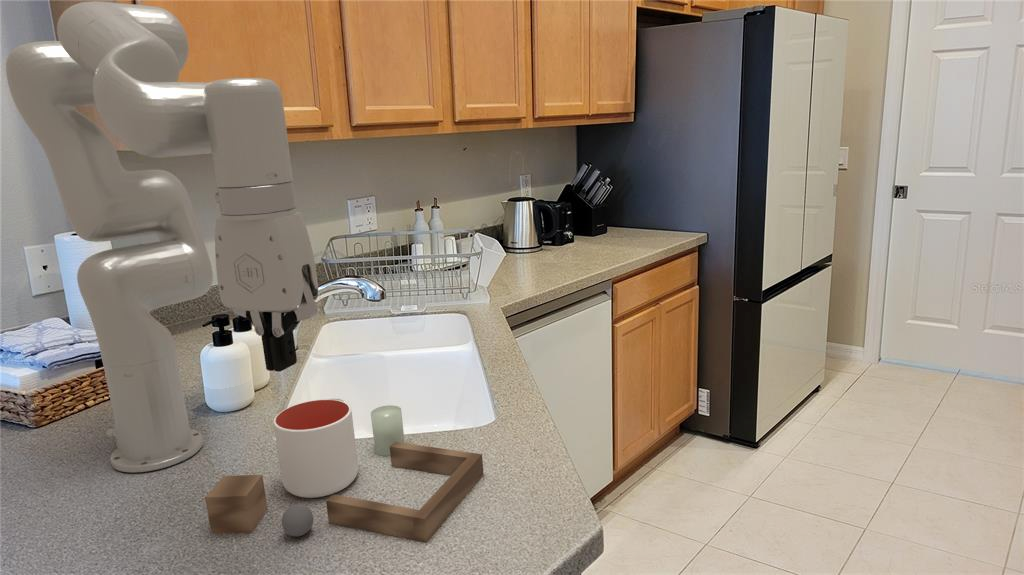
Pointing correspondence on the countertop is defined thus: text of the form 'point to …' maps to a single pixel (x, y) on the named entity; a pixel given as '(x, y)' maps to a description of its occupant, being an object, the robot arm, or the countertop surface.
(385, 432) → the jar
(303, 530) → the grey ball
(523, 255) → the countertop surface
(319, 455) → the cup
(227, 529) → the walnut block
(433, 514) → the bay
